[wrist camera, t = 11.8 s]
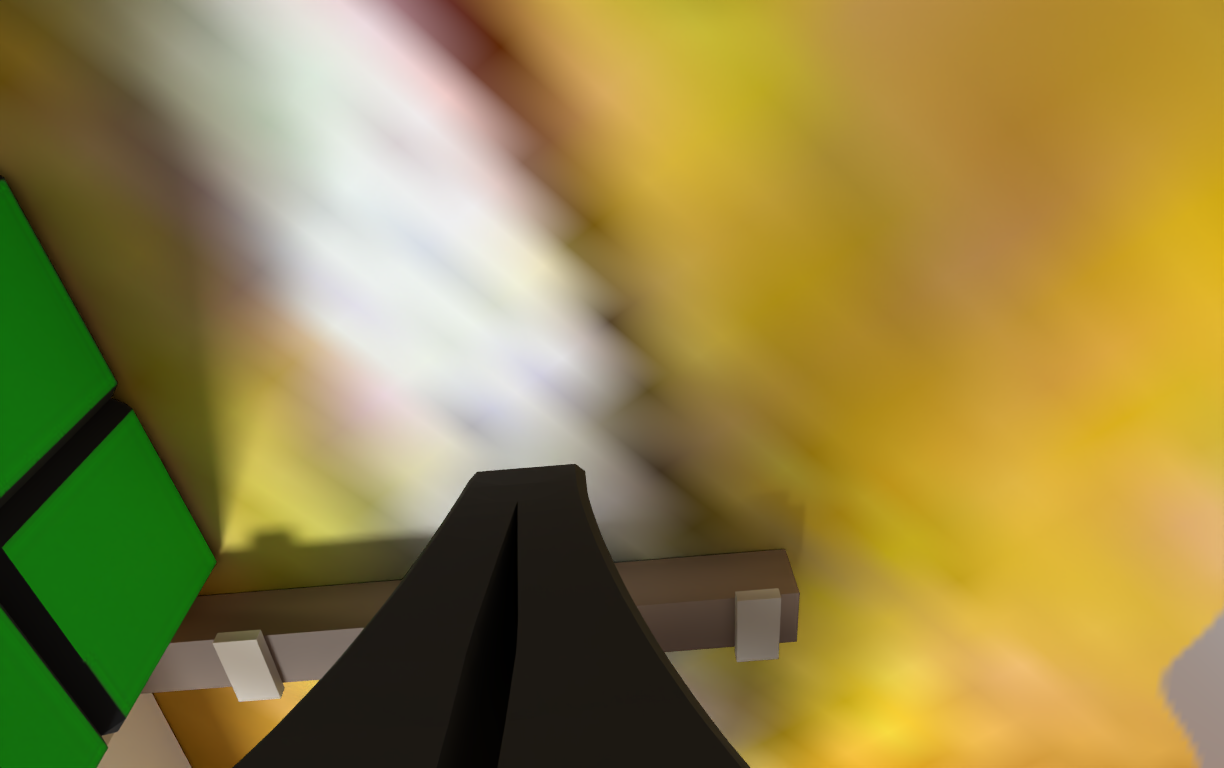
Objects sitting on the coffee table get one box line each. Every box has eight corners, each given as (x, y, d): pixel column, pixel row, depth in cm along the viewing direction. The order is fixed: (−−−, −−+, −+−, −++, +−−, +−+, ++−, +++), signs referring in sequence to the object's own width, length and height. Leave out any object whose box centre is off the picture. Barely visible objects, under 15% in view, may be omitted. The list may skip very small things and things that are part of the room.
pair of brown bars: (782, 602, 21) (799, 656, 19) (-251, 684, 21) (-318, 746, 19) (823, -290, 12) (861, -325, 10) (-989, -137, 12) (-1227, -147, 10)
